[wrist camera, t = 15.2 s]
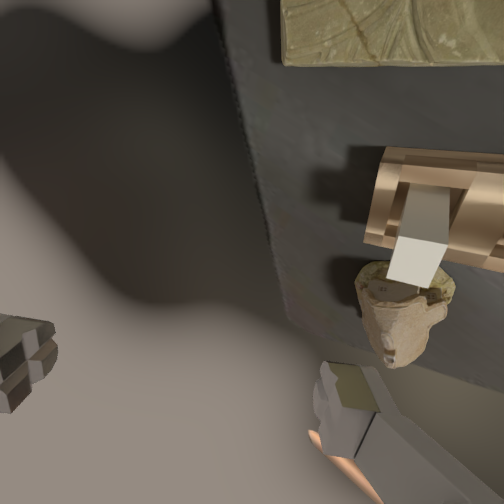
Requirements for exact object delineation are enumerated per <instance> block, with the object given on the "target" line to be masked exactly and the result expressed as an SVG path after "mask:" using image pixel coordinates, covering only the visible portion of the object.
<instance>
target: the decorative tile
mask: <svg viewBox="0 0 504 504" xmlns="http://www.w3.org/2000/svg"><path fill="white" fill-rule="evenodd" d="M280 8H281V56H282V62H283V65H285V66H296V67H325V66H335V67H377V66H391V65H392V66H404V67H418V66H440V67H441V66H476V65H504V0H280Z"/></svg>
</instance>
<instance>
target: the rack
mask: <svg viewBox="0 0 504 504" xmlns="http://www.w3.org/2000/svg"><path fill="white" fill-rule="evenodd" d="M410 183H418V184H426V185H435V186H443V187H450V206H449V239H448V247H447V249H446V251H445V253H444V255H443V257H442V260H446V261H451V262H456V263H460V264H465V265H470V266H474V267H479V268H484V269H488V270H493V271H497V272H502V273H504V154H490V153H475V152H460V151H446V150H431V149H417V148H402V147H386V149H385V152H384V154H383V157H382V159H381V161H380V165H379V170H378V175H377V179H376V184H375V189H374V194H373V198H372V203H371V208H370V213H369V218H368V222H367V227H366V232H365V237H364V241H363V243H367V244H372V245H377V246H381V247H386V248H391V249H393V246H394V242H395V237H396V233H397V229H398V225H399V220H400V217H401V213H402V210H403V206H404V203H405V199H406V196H407V192H408V189H409V185H410Z"/></svg>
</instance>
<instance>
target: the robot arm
mask: <svg viewBox="0 0 504 504" xmlns="http://www.w3.org/2000/svg"><path fill="white" fill-rule="evenodd" d="M55 333H56V332H55V327H54V324H53V323H51V322H49V321H44V320H38V319H32V318H26V317H20V316H12V315H6V314H0V413H9V414H11V413H12V412H13V411H14V410H15V409H16V408H17V407H18V406H19V405H20V404H21V402H23V400H24V399H25V398H26V397H27V396H28V395H29V394H30V393H31V392H32V384H34V383H36V382H38V381H40V380H42V379H44V378H45V377H46V376H47V375H48V373H49V372H50V371H51V370H52V368H53V366H54V364H55V362H56V360H57V356H58V346H57V344H56V343H55V342H54V341H53V340H52V337H53V336H54V334H55ZM320 373H321V378H320V379H318V380H317V381H316V383H315V387H314V392H313V406H314V412H315V415H316V416H317V418H318V419H319V420H320V421H321V424H320V426H319V429H318V431H319V436H320V440H321V445H322V449H323V454H324V455H331V456H337V457H343V458H349V459H355V460H354V462H355V463H356V465H357V466H358V467H359V469H360V470H361V472H362V473H363V474H364V476H365V477H366V479H367V480H368V482H369V483H370V484H371V486H372V487H373V489H374V490H375V491H376V493H377V494H378V496H379V497H380V498H381V500H382V501H383V503H384V504H504V500H503V499H501V498H500V497H499V496H498V495H497V494H496V493H494V492H493V491H492V490H491V489H490V488H489V487H488V486H487V485H485V484H484V483H483V482H482V481H481V480H480V479H478V478H477V477H476V476H475V475H474V474H473V473H471V472H470V471H469V470H468V469H467V468H466V467H464V466H463V465H462V464H461V463H460V462H459V461H458V460H456V459H455V458H454V457H453V456H452V455H451V454H449V453H448V452H447V451H446V450H445V449H444V448H442V447H441V446H440V445H439V444H438V443H437V442H435V441H434V440H433V439H432V438H431V437H430V436H429V435H427V434H426V433H425V432H424V431H423V430H422V429H420V428H419V427H418V426H417V425H416V424H414V423H413V422H412V421H411V420H410V419H409V418H408V417H405V416H401V414H400V412H399V410H398V408H397V407H396V405H395V403H394V401H393V399H392V397H391V395H390V394H389V392H388V390H387V388H386V386H385V384H384V382H383V381H382V379H381V377H380V375H379V373H378V371H377V370H376V369H375V368H374V367H372V366H364V365H353V364H345V363H339V362H331V361H324V362H323V364H322V365H321V368H320Z"/></svg>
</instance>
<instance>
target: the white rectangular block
mask: <svg viewBox="0 0 504 504" xmlns="http://www.w3.org/2000/svg"><path fill="white" fill-rule="evenodd" d="M449 206H450V187H443V186H435V185H426V184H418V183H410V185H409V189H408V192H407V196H406V199H405V203H404V206H403V210H402V213H401V217H400V220H399V225H398V229H397V233H396V237H395V242H394V246H393V250H392V255H391V259H390V263H389V267H388V272H387V276H386V278H388V279H392V280H396V281H400V282H404V283H408V284H412V285H416V286H420V287H424V288H428V287H429V285H430V283H431V281H432V279H433V277H434V274H435V272H436V270H437V268H438V266H439V264H440V262H441V260H442V257H443V255H444V253H445V251H446V249H447V247H448V239H449Z"/></svg>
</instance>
